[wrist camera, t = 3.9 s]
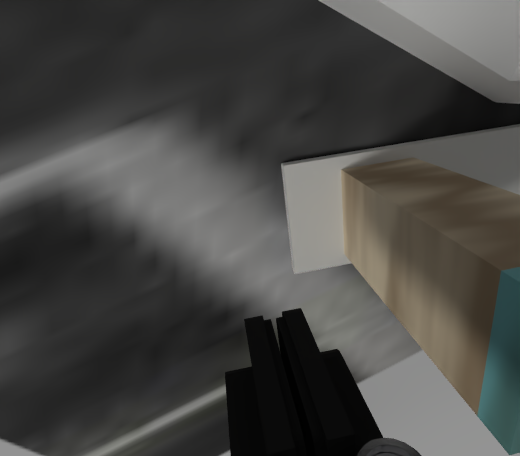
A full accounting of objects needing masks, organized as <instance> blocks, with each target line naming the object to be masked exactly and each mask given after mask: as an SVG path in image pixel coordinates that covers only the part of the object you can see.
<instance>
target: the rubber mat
mask: <svg viewBox="0 0 520 456" xmlns="http://www.w3.org/2000/svg"><path fill="white" fill-rule="evenodd" d="M413 157H414V158H417V159H419V160H422V161H425V162H428V163H431V164H433V165H436V166H439V167H442V168H445V169H448V170H450V171H453V172H456V173H459V174H462V175H465V176H467V177H470V178H473V179H476V180H479V181H482V182H484V183H487V184H490V185H493V186H496V187H499V188H501V189H504V190H507V191H510V192H513V193H515V194H518V195H520V124H517V125H511V126H504V127H498V128H492V129H486V130H480V131H474V132H468V133H462V134H456V135H450V136H444V137H438V138H432V139H426V140H419V141H413V142H407V143H401V144H395V145H389V146H383V147H377V148H371V149H365V150H359V151H353V152H347V153H341V154H334V155H328V156H322V157H316V158H310V159H304V160H298V161H292V162H286V163H281V167H282V176H283V185H284V194H285V204H286V213H287V222H288V231H289V241H290V250H291V259H292V269H293V271H294V273H295V274H298V273H303V272H308V271H314V270H319V269H324V268H329V267H334V266H340V265H345V264H350V263H351V261H350V260H349V259H348V258H347V257H346V255H345V254H344V233H343V208H342V182H341V170H342V169H348V168H354V167H359V166H365V165H371V164H377V163H383V162H389V161H395V160H401V159H407V158H413Z"/></svg>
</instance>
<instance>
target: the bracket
mask: <svg viewBox="0 0 520 456" xmlns="http://www.w3.org/2000/svg"><path fill="white" fill-rule="evenodd" d="M319 1H321V2H322V3H324V4H326V5H327V6H329V7H331V8H333V9H334V10H336V11H338V12H340V13H341V14H343V15H345V16H347V17H348V18H350V19H352V20H353V21H355V22H357V23H359V24H360V25H362V26H364V27H366V28H367V29H369V30H371V31H373V32H374V33H376V34H378V35H379V36H381V37H383V38H385V39H386V40H388V41H390V42H392V43H393V44H395V45H397V46H398V47H400V48H402V49H404V50H405V51H407V52H409V53H411V54H412V55H414V56H416V57H418V58H419V59H421V60H423V61H424V62H426V63H428V64H430V65H431V66H433V67H435V68H437V69H438V70H440V71H442V72H444V73H445V74H447V75H449V76H450V77H452V78H454V79H456V80H457V81H459V82H461V83H463V84H464V85H466V86H468V87H470V88H471V89H473V90H475V91H476V92H478V93H480V94H482V95H483V96H485V97H487V98H489V99H490V100H492V101H494V102H499V103H515V104H520V0H319Z"/></svg>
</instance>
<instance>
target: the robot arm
mask: <svg viewBox="0 0 520 456" xmlns="http://www.w3.org/2000/svg"><path fill="white" fill-rule="evenodd" d="M244 321H245V327H246V333H247V339H248V345H249V351H250V357H251V363H252V367H248V368H243V369H238V370H233V371H228V372H225V380H226V395H227V409H228V423H229V437H230V452H231V456H421V455H420V454H419V453H418V452H417V451H416V450H415V449H414V448H412V447H411V446H409V445H407V444H406V443H404V442H401V441H399V440H396V439H391V438H383V436H382V434H381V432H380V430H379V428H378V426H377V424H376V422H375V420H374V418H373V416H372V414H371V412H370V410H369V408H368V406H367V404H366V402H365V400H364V399H363V396H362V394H361V392H360V390H359V388H358V386H357V384H356V382H355V380H354V378H353V376H352V374H351V372H350V370H349V368H348V367H347V365H346V363H345V361H344V359H343V357H342V355H341V353H340V351H339V350H338V349H334V350H330V351H325V352H320V351H319V349H318V347H317V344H316V342H315V339H314V337H313V335H312V332H311V330H310V328H309V325H308V323H307V321H306V318H305V316H304V314H303V311H302V309H301V308H299V309H293V310H288V311H283V312H282V317H279V318H276V323H277V330H278V338H279V345H280V351H279V347H278V344H277V340H276V336H275V333H274V329H273V326H272V322H271V319H269V320H264V319H263V316H258V317H253V318H247V319H244ZM280 353H281V354H280Z"/></svg>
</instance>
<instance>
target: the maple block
mask: <svg viewBox="0 0 520 456" xmlns="http://www.w3.org/2000/svg"><path fill="white" fill-rule="evenodd" d="M341 182H342V208H343V233H344V254H345V255H346V257H347V258H348V259H349V260H350V261H351V263H352V264H353V265H354V266H355V268H356V269H357V270H358V271H359V272H360V274H361V275H362V276H363V277H364V279H365V280H366V281H367V282H368V283H369V285H370V286H371V287H372V288H373V289H374V291H375V292H376V293H377V294H378V296H379V297H380V298H381V299H382V300H383V302H384V303H385V304H386V305H387V307H388V308H389V309H390V310H391V311H392V313H393V314H394V315H395V316H396V317H397V319H398V320H399V321H400V322H401V324H402V325H403V326H404V327H405V328H406V330H407V331H408V332H409V333H410V335H411V336H412V337H413V338H414V339H415V341H416V342H417V343H418V344H419V345H420V347H421V348H422V349H423V350H424V352H425V353H426V354H427V355H428V356H429V358H430V359H431V360H432V361H433V362H434V364H435V365H436V366H437V367H438V369H439V370H440V371H441V372H442V373H443V375H444V376H445V377H446V378H447V379H448V381H449V382H450V383H451V384H452V386H453V387H454V388H455V389H456V391H457V392H458V393H459V394H460V395H461V397H462V398H463V399H464V400H465V401H466V403H467V404H468V405H469V406H470V407H471V409H472V410H473V411H474V412H475V414H476V415H477V416H478V417H479V419H480V420H481V421H482V422H483V423H484V425H485V426H486V427H487V428H488V430H489V431H490V432H491V433H492V434H493V436H494V437H495V438H496V439H497V440H498V442H499V443H500V444H501V445H502V446H503V448H504V449H505V450H506V451H507V453H508V454H509V455H512V454H515V453H520V195H518V194H515V193H513V192H510V191H507V190H504V189H501V188H499V187H496V186H493V185H490V184H487V183H484V182H482V181H479V180H476V179H473V178H470V177H467V176H465V175H462V174H459V173H456V172H453V171H450V170H448V169H445V168H442V167H439V166H436V165H433V164H431V163H428V162H425V161H422V160H419V159H417V158H414V157H413V158H407V159H401V160H395V161H389V162H383V163H377V164H371V165H365V166H359V167H354V168H348V169H342V170H341Z"/></svg>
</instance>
